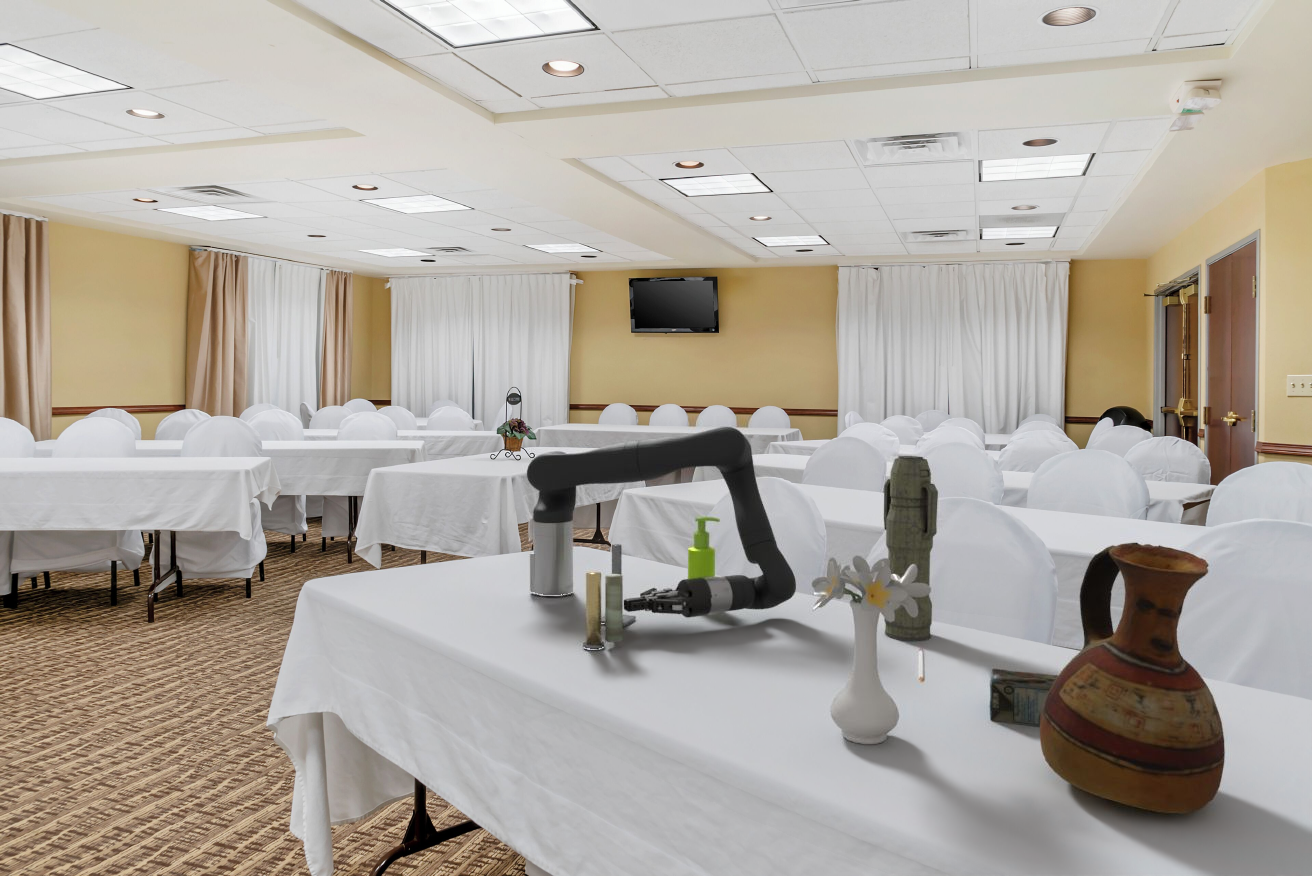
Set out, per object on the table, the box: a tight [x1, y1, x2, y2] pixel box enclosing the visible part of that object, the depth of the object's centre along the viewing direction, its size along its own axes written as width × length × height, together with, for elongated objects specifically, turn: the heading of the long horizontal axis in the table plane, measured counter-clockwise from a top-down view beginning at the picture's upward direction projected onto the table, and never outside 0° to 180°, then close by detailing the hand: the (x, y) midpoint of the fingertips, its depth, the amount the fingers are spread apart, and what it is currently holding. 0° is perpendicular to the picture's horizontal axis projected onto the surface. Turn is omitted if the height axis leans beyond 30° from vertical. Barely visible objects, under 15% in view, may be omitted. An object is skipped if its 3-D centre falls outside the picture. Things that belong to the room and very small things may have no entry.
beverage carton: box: [988, 668, 1059, 728], centre depth 130 cm, size 8×19×7 cm, turn 69°
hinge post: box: [601, 543, 637, 627], centre depth 184 cm, size 6×6×16 cm
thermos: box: [883, 455, 939, 642], centre depth 174 cm, size 9×12×35 cm
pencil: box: [918, 648, 925, 683], centre depth 156 cm, size 1×19×1 cm, turn 163°
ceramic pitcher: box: [1039, 542, 1226, 814], centre depth 107 cm, size 20×20×30 cm
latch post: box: [582, 571, 605, 649], centre depth 166 cm, size 4×4×14 cm
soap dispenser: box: [687, 516, 721, 579], centre depth 196 cm, size 6×7×20 cm
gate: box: [604, 573, 624, 643], centre depth 173 cm, size 17×3×12 cm, turn 1°
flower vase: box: [811, 555, 932, 745], centre depth 124 cm, size 13×18×25 cm
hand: (625, 605), depth 171 cm, fingers closed
